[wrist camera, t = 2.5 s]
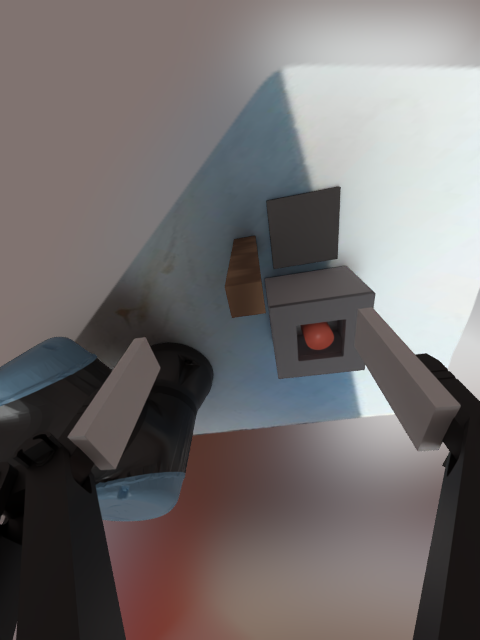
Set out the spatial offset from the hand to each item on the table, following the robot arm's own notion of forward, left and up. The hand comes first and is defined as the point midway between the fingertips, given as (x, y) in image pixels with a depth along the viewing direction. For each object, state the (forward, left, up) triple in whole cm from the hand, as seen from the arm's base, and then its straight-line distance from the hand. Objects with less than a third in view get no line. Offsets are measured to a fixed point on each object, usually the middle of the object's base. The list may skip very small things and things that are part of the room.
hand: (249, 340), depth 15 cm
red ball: (+8, -11, -17) cm, 22 cm away
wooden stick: (0, 0, -22) cm, 22 cm away
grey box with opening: (+8, -11, -22) cm, 26 cm away
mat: (+8, +1, -22) cm, 23 cm away
